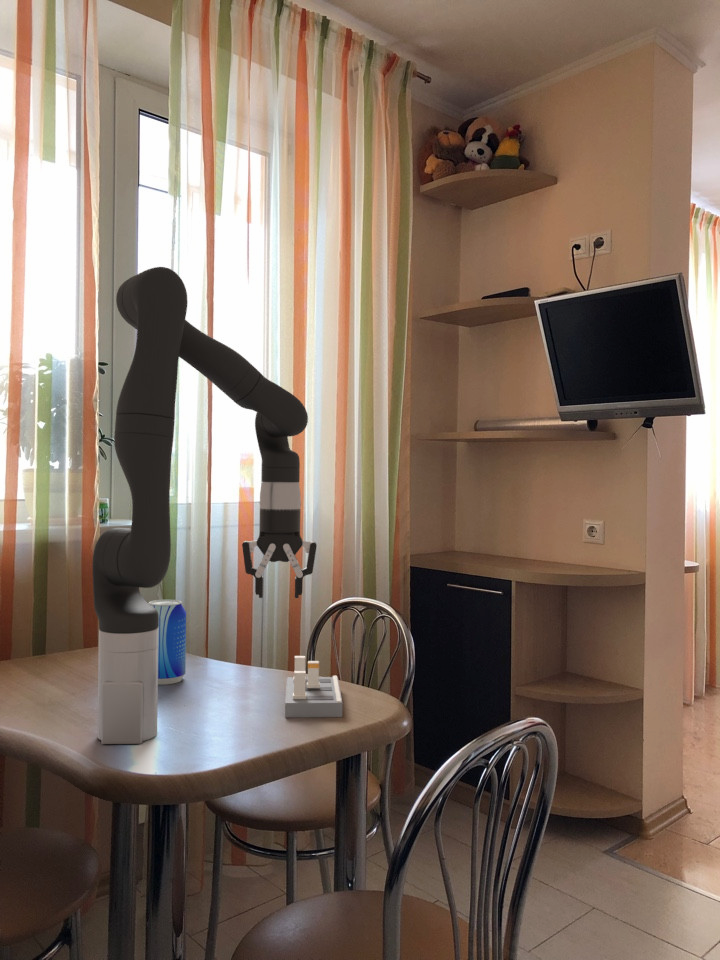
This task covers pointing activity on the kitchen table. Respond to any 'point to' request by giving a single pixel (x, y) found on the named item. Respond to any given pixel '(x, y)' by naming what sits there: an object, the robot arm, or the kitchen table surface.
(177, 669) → the beer can
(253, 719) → the kitchen table surface
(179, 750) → the kitchen table surface
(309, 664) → the breaker toggle
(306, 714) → the breaker panel
